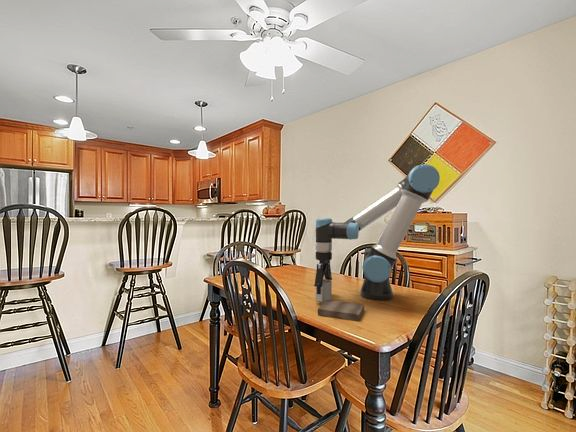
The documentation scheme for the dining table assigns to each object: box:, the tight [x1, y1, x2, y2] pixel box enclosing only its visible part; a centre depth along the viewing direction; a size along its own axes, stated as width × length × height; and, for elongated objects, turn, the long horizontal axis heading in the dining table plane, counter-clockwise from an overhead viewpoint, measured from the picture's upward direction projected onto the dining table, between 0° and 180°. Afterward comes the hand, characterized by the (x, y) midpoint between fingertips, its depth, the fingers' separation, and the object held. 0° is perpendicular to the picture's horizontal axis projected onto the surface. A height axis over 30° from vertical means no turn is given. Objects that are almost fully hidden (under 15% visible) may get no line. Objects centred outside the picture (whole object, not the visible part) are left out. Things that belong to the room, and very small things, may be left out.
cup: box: [317, 278, 333, 303], centre depth 141 cm, size 7×10×9 cm
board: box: [317, 299, 365, 322], centre depth 122 cm, size 16×13×2 cm
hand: (323, 297), depth 141 cm, fingers open, 12 cm apart
